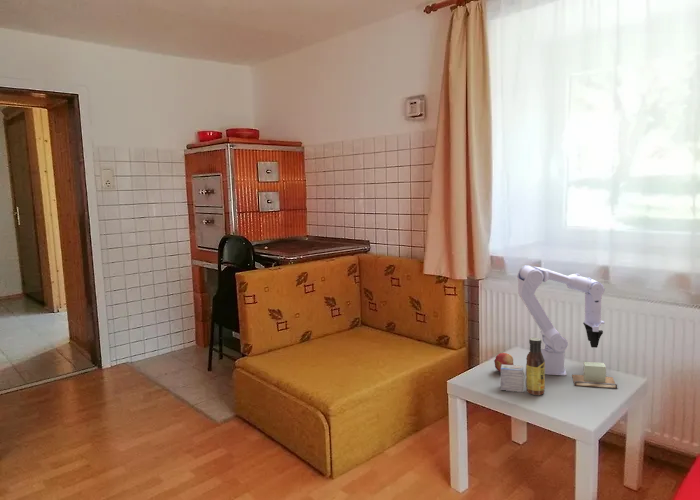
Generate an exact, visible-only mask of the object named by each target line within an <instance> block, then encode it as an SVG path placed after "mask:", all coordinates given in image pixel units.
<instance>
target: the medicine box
mask: <svg viewBox="0 0 700 500" xmlns="http://www.w3.org/2000/svg"><path fill="white" fill-rule="evenodd" d="M501 390H506V391H505V392H514V391H517V393H524V366H523V365H517V364H516V365H515V364H514V365H503V364H502V365H501V372H500V391H501Z"/></svg>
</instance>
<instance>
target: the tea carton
mask: <svg viewBox="0 0 700 500" xmlns="http://www.w3.org/2000/svg"><path fill="white" fill-rule="evenodd" d="M582 372H583V373H582V375H583V377H584V380H585V381H591V382H605V383H606V377H607V374H606V373H607V367H606V364H605V363H604V362H595V361H594V362H592V361H583V371H582Z"/></svg>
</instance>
